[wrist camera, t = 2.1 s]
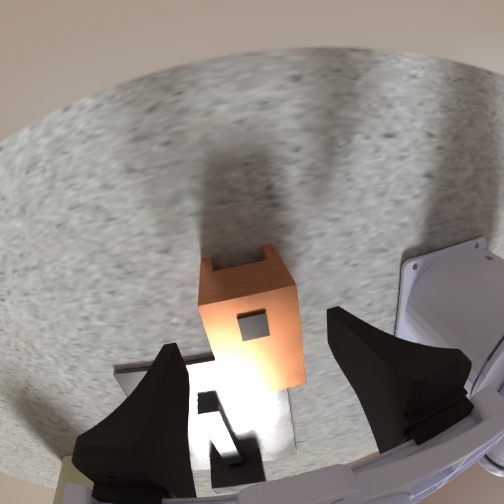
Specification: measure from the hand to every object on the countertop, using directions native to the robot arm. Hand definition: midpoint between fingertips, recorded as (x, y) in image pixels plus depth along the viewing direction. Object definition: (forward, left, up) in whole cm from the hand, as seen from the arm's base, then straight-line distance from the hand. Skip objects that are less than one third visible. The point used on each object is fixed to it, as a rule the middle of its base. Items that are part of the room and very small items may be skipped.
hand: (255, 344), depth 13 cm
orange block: (0, 0, -5) cm, 5 cm away
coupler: (+4, +12, -4) cm, 14 cm away
